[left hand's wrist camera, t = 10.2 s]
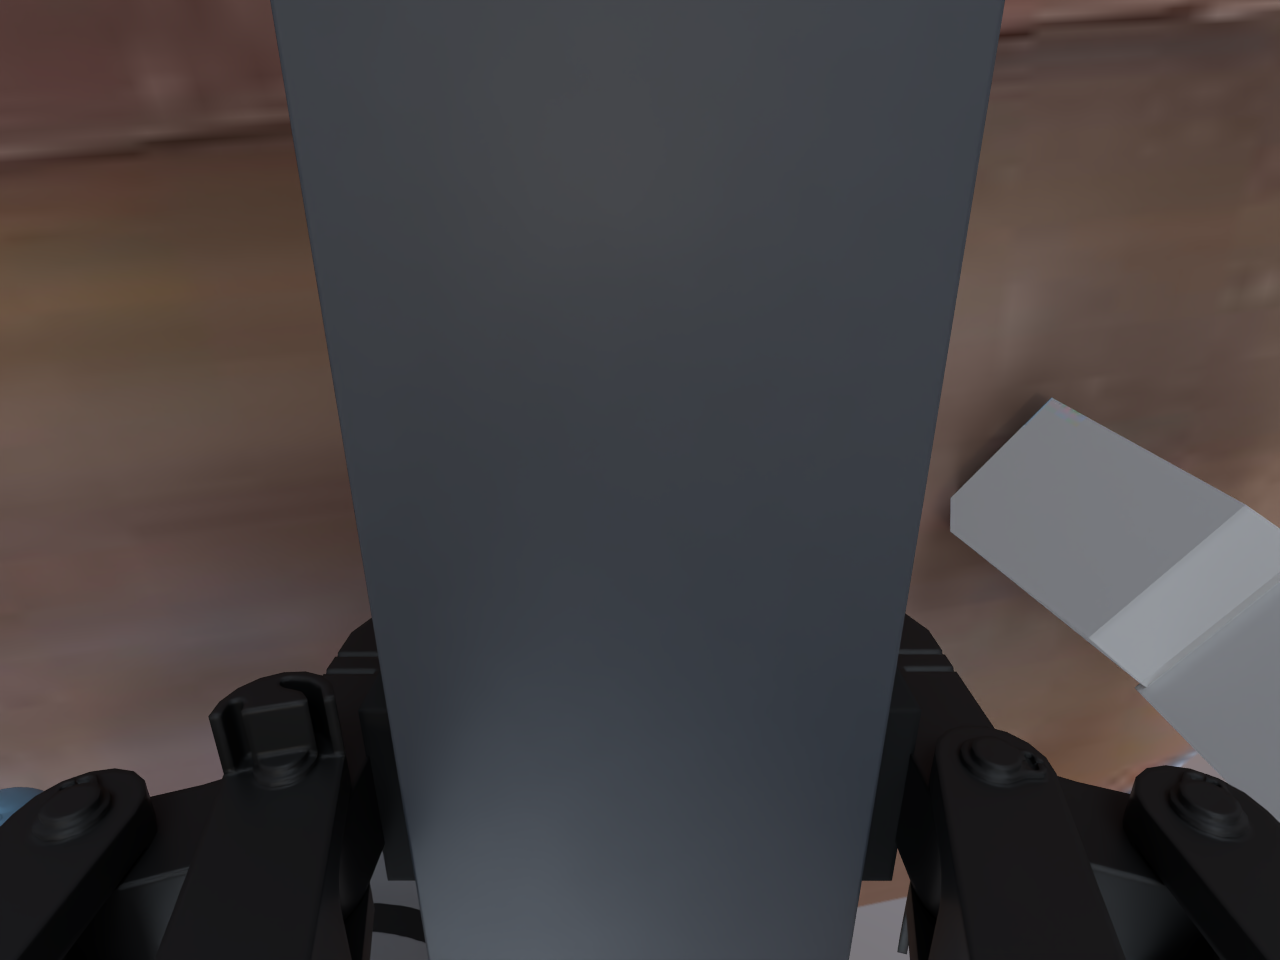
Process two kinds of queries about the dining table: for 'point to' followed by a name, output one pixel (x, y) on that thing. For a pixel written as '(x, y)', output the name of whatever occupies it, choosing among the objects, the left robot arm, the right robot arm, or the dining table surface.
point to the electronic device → (1144, 579)
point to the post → (638, 436)
